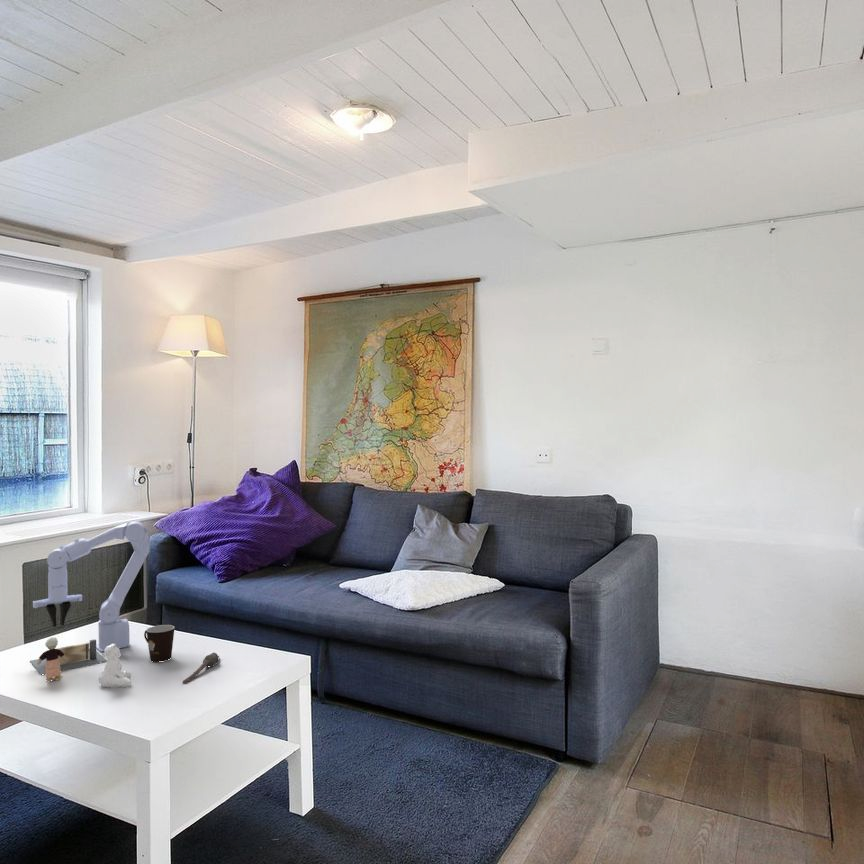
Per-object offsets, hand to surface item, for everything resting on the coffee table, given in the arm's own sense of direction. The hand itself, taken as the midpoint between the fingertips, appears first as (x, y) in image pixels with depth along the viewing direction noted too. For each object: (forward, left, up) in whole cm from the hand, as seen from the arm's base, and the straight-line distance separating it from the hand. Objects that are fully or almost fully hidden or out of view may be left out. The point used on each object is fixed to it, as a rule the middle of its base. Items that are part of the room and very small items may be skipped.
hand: (58, 625), depth 230 cm
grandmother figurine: (+7, +26, -10) cm, 29 cm away
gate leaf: (0, +15, -9) cm, 17 cm away
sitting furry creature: (-6, +43, -10) cm, 44 cm away
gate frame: (-1, +11, -9) cm, 15 cm away
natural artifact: (-30, +49, -10) cm, 58 cm away
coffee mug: (-24, +28, -10) cm, 38 cm away
